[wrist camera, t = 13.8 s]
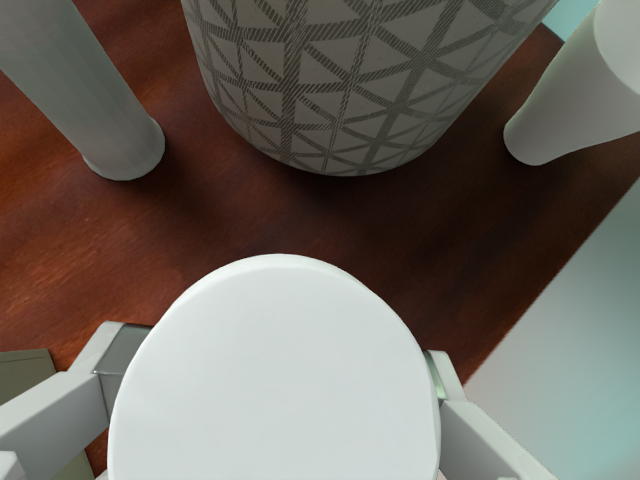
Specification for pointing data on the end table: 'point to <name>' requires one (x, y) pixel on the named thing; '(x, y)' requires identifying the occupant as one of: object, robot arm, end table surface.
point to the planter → (351, 72)
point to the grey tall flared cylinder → (77, 87)
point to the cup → (584, 89)
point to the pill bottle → (277, 383)
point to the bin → (23, 374)
